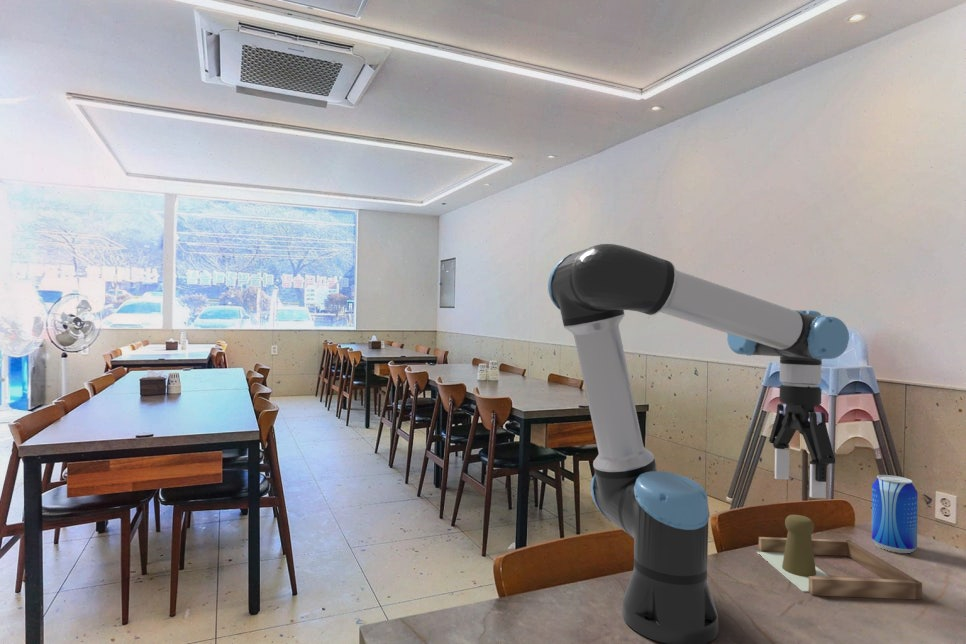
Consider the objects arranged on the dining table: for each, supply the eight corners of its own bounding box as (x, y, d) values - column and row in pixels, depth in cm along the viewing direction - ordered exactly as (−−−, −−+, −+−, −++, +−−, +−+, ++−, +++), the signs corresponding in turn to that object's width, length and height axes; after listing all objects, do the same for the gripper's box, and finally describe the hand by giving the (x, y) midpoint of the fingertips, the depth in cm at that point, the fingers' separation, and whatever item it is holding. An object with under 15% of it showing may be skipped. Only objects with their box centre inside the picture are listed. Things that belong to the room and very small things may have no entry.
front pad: (802, 591, 102) (802, 590, 102) (756, 552, 120) (756, 551, 120) (851, 593, 102) (851, 592, 102) (797, 554, 120) (797, 553, 120)
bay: (812, 595, 101) (812, 579, 101) (758, 550, 122) (758, 536, 122) (922, 599, 100) (922, 583, 100) (849, 553, 121) (849, 540, 121)
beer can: (877, 538, 131) (878, 472, 131) (921, 549, 125) (921, 479, 125) (866, 546, 126) (867, 477, 126) (911, 558, 119) (912, 485, 120)
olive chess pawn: (821, 578, 108) (821, 522, 108) (788, 574, 109) (788, 519, 109) (809, 565, 113) (809, 513, 114) (777, 562, 115) (778, 510, 115)
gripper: (858, 391, 100) (856, 507, 99) (787, 380, 125) (785, 473, 124) (816, 390, 100) (814, 505, 99) (754, 379, 125) (752, 471, 124)
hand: (798, 487), depth 112 cm, fingers open, 13 cm apart
